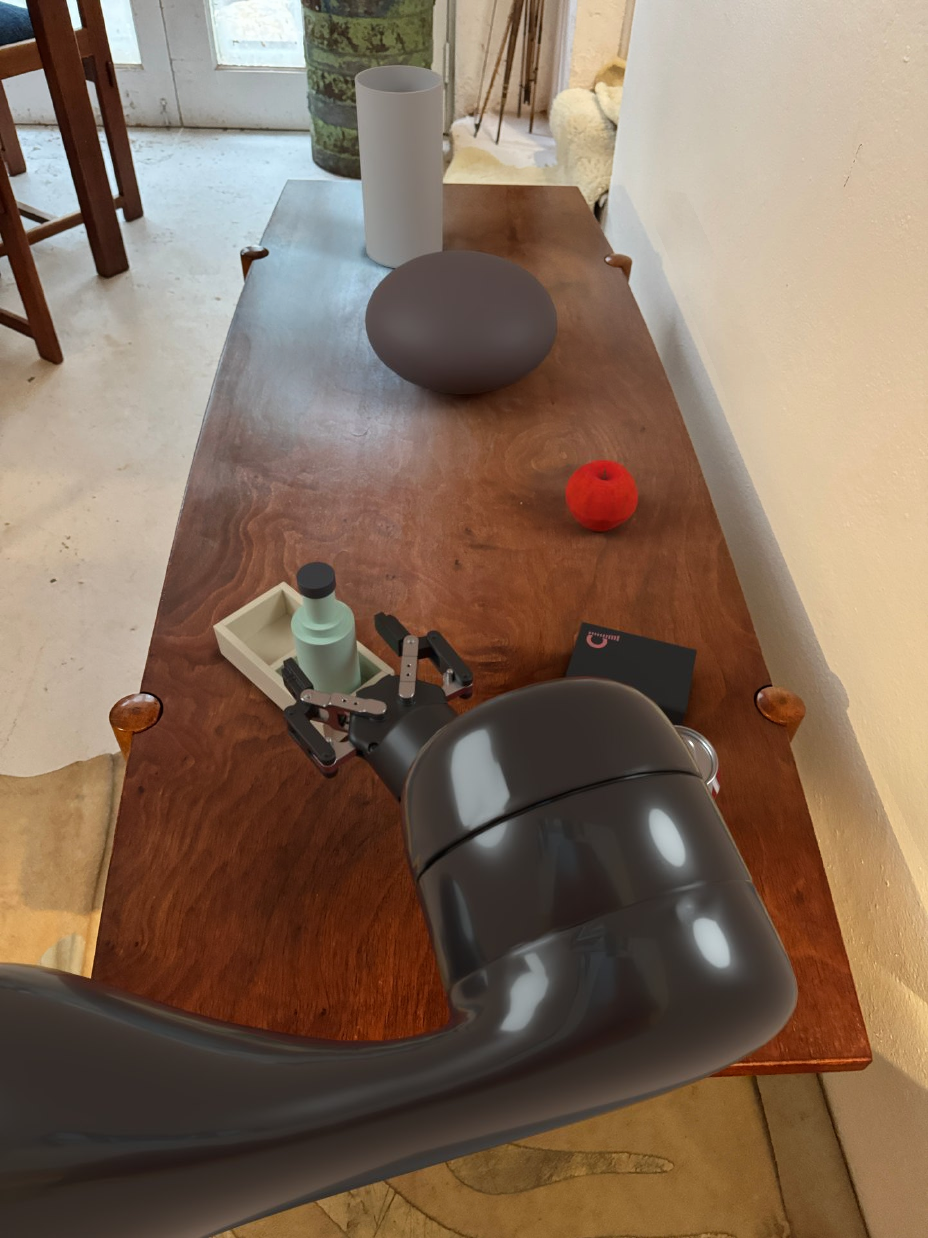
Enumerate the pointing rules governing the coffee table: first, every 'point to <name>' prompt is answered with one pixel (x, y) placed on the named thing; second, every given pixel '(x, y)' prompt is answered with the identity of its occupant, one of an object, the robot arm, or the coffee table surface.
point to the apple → (601, 495)
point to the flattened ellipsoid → (461, 322)
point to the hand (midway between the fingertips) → (333, 642)
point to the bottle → (325, 633)
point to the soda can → (703, 757)
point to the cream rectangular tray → (279, 647)
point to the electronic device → (636, 665)
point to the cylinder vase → (401, 161)
